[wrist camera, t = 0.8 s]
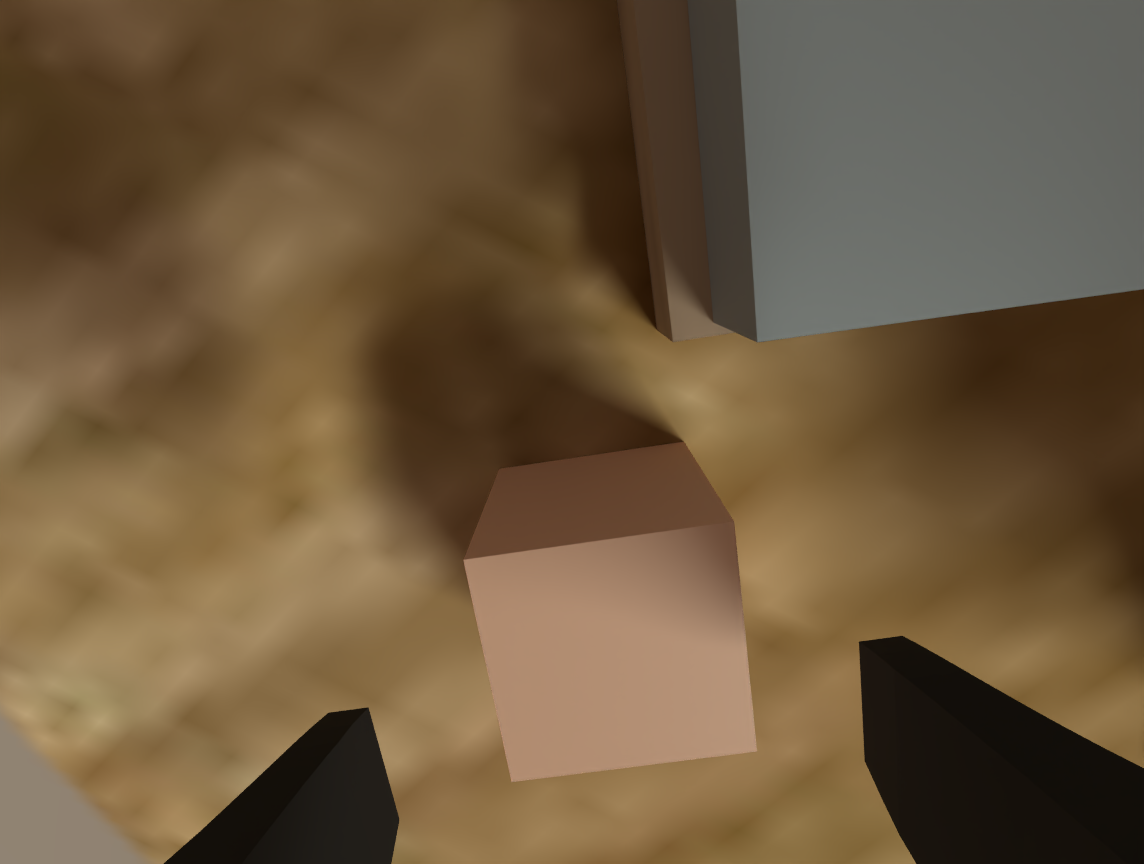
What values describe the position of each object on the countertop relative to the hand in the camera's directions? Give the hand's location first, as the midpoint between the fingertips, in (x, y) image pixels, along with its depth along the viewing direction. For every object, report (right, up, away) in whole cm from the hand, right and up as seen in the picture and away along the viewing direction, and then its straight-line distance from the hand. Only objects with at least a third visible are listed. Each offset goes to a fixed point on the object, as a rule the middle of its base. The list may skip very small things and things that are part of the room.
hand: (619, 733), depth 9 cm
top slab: (+5, +10, +2) cm, 11 cm away
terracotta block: (0, +2, +7) cm, 7 cm away
